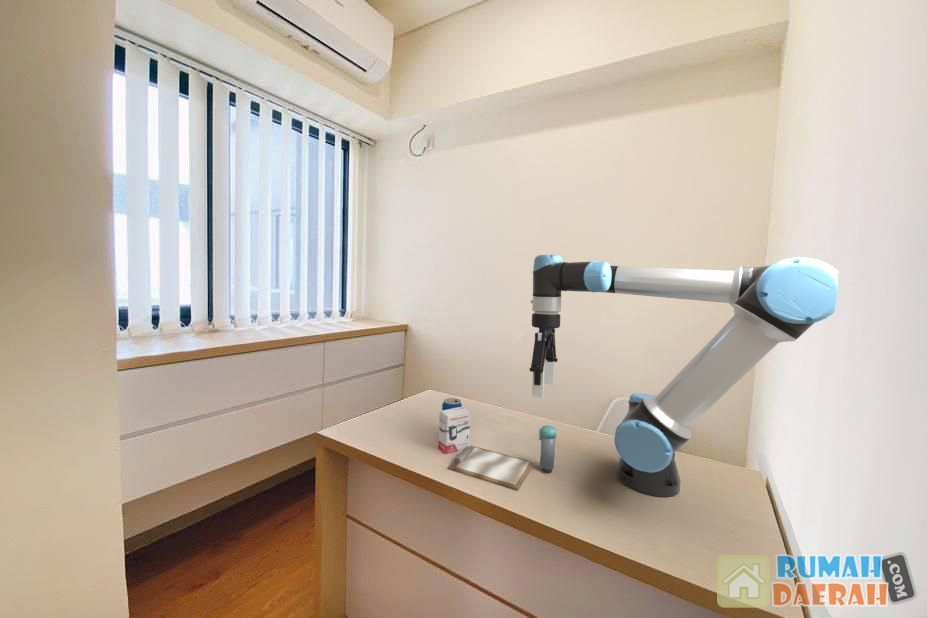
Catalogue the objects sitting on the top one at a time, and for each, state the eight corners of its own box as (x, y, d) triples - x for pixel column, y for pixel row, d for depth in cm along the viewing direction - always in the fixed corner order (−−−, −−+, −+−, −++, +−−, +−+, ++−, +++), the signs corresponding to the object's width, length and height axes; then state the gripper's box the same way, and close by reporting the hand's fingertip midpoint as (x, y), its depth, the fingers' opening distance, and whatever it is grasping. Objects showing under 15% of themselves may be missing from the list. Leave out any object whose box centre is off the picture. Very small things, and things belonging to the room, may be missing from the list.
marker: (555, 468, 98) (558, 427, 98) (552, 475, 95) (555, 432, 94) (539, 464, 100) (541, 423, 99) (535, 471, 97) (538, 428, 96)
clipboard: (533, 463, 101) (534, 458, 100) (517, 490, 87) (518, 484, 87) (470, 446, 109) (471, 441, 109) (447, 468, 96) (447, 462, 96)
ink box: (446, 455, 104) (447, 416, 103) (437, 448, 108) (439, 410, 107) (469, 448, 108) (471, 411, 108) (460, 441, 113) (462, 406, 112)
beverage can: (464, 437, 116) (465, 402, 115) (447, 442, 112) (449, 405, 111) (453, 430, 121) (455, 396, 120) (437, 434, 117) (438, 399, 116)
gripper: (542, 310, 108) (540, 378, 109) (519, 314, 85) (517, 400, 86) (567, 311, 105) (565, 381, 106) (550, 316, 82) (547, 405, 83)
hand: (543, 390), depth 96 cm, fingers open, 13 cm apart
